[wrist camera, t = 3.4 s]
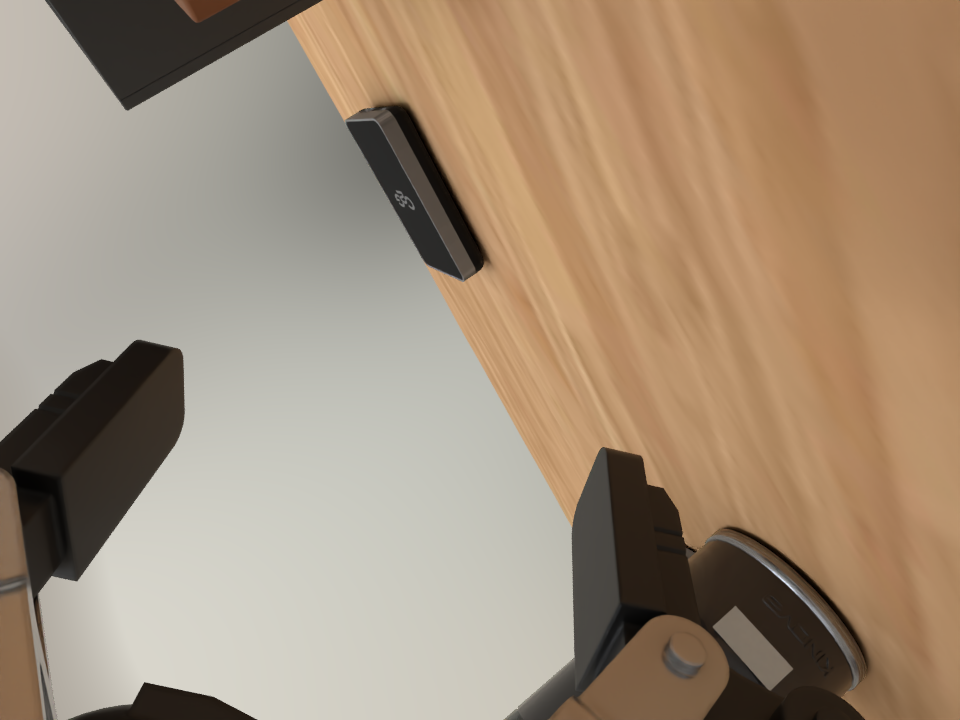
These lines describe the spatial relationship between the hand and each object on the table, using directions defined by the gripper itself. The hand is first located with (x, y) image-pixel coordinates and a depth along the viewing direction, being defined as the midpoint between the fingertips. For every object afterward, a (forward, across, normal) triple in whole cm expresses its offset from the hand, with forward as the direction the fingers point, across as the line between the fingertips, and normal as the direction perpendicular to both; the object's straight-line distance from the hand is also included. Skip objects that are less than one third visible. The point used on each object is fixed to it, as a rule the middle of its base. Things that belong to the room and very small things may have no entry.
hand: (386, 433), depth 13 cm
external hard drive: (+32, +3, +7) cm, 33 cm away
